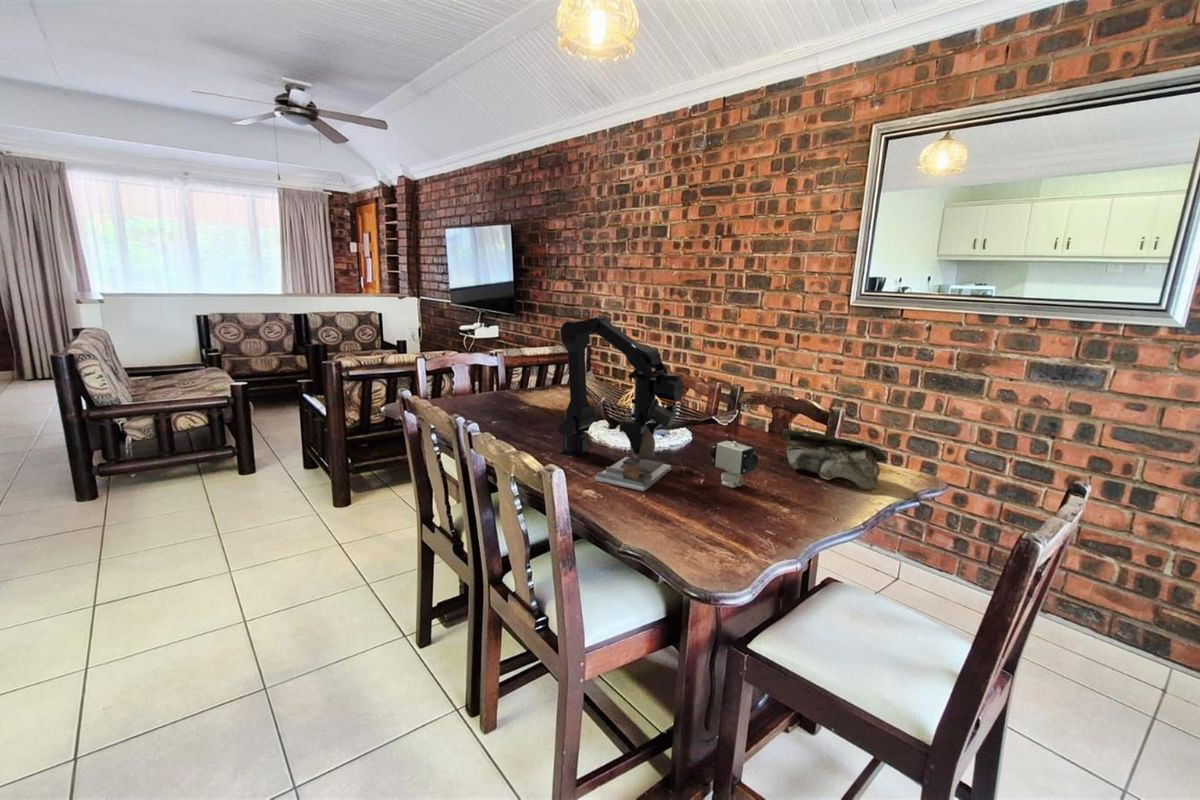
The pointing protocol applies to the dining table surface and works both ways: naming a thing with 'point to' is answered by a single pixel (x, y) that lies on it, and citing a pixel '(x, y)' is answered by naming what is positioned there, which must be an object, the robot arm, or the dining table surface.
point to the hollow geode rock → (834, 457)
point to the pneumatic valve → (733, 461)
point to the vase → (645, 446)
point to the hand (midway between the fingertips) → (642, 450)
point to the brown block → (631, 468)
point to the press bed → (647, 477)
